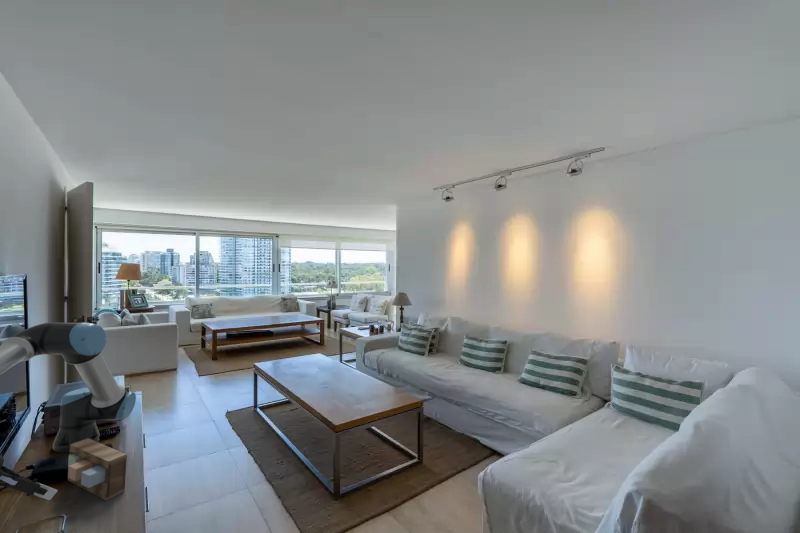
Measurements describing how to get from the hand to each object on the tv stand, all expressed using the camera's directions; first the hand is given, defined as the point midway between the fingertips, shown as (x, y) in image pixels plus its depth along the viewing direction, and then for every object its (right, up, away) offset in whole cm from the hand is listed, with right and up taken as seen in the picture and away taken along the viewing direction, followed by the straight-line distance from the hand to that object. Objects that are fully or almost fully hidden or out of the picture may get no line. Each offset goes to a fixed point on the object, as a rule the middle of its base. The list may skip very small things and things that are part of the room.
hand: (52, 494), depth 110 cm
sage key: (-9, -2, +20) cm, 22 cm away
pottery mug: (-12, -8, +31) cm, 34 cm away
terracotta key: (-3, -2, +13) cm, 14 cm away
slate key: (+4, -2, +10) cm, 11 cm away
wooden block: (-2, -8, +18) cm, 19 cm away
